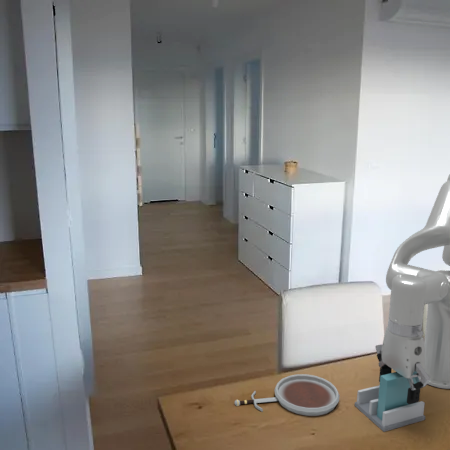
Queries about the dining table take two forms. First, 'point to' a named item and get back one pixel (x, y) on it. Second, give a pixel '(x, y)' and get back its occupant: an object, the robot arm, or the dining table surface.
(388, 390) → the teal upright slab
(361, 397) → the dish rack
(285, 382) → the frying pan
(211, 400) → the dining table surface
